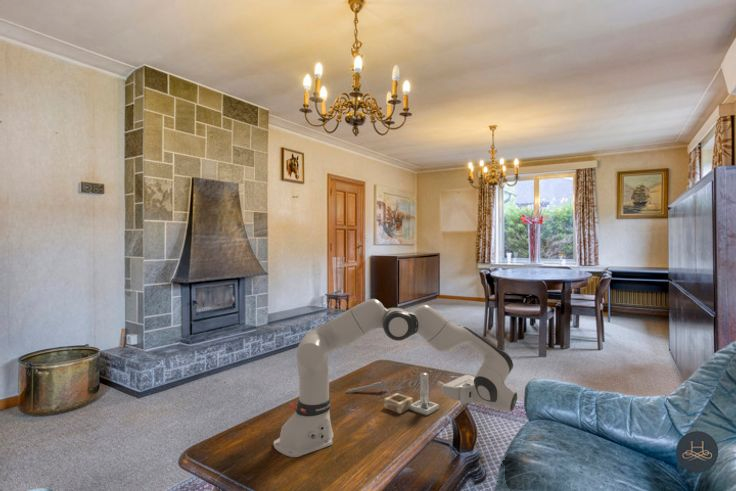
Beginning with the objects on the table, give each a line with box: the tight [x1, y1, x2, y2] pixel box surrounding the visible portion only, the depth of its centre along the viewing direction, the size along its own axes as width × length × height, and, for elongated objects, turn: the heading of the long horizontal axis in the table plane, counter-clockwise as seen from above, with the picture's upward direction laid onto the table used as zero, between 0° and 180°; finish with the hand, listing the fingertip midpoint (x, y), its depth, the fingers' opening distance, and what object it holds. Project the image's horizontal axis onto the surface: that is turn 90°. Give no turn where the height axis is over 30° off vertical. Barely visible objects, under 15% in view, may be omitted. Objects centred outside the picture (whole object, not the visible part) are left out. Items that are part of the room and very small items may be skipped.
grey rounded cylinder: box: [419, 371, 430, 410], centre depth 171 cm, size 4×4×15 cm
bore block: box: [383, 392, 414, 414], centre depth 174 cm, size 9×9×4 cm
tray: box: [409, 399, 440, 417], centre depth 172 cm, size 9×9×2 cm
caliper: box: [344, 378, 388, 394], centre depth 192 cm, size 20×1×6 cm, turn 94°
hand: (444, 380), depth 163 cm, fingers open, 8 cm apart
